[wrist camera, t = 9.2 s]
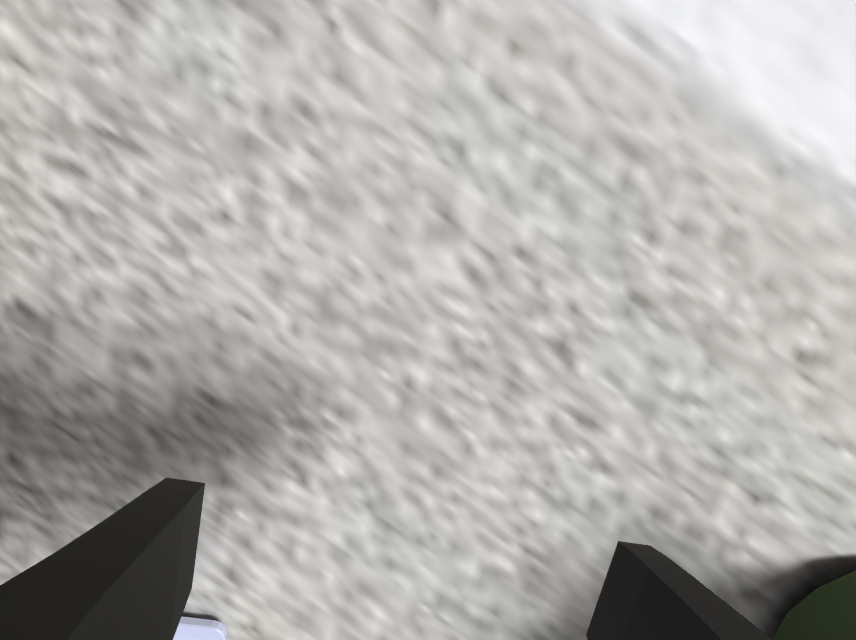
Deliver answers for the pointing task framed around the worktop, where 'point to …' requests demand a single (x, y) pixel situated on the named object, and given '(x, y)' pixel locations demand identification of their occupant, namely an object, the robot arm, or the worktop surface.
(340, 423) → the worktop surface
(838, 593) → the character mug
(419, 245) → the worktop surface
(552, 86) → the worktop surface
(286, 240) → the worktop surface
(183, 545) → the robot arm
